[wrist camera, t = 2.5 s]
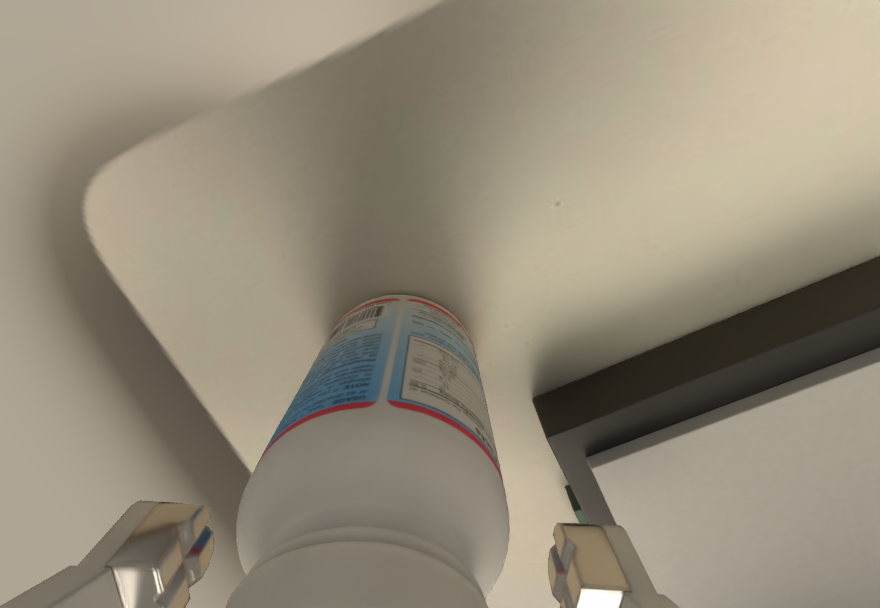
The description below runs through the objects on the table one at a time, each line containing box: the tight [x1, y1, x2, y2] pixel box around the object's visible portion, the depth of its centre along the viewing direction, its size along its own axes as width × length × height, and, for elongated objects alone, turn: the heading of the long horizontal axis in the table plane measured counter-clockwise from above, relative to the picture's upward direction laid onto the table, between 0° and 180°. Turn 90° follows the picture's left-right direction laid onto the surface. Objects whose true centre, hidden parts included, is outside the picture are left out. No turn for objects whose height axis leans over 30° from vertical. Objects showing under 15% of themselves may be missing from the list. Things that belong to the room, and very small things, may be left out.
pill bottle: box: [226, 295, 510, 608], centre depth 11 cm, size 6×6×11 cm
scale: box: [533, 257, 880, 608], centre depth 17 cm, size 16×14×3 cm
